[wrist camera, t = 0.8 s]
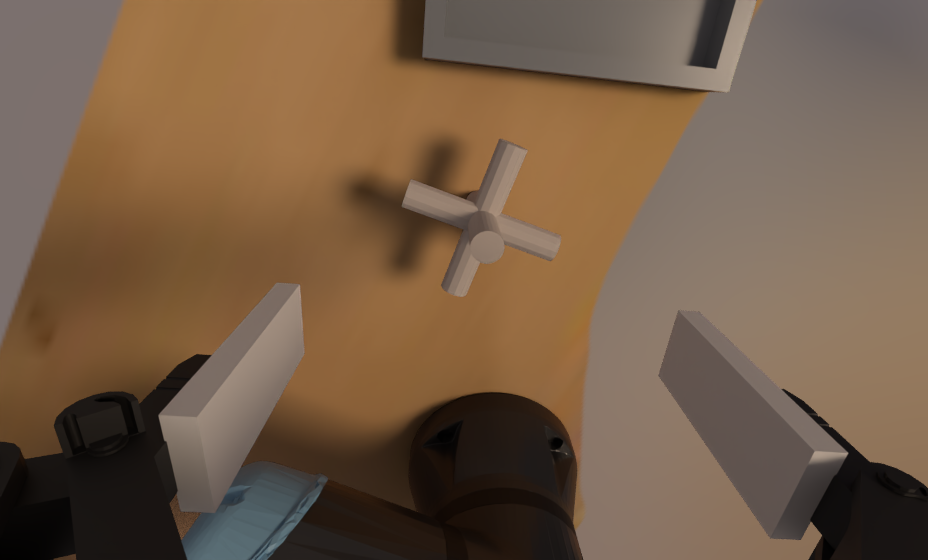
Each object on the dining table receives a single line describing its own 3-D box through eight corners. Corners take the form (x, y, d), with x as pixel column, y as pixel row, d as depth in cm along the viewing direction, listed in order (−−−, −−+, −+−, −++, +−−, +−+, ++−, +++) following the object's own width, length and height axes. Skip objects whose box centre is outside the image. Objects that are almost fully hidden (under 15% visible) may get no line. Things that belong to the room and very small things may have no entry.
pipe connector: (436, 108, 31) (429, 117, 21) (569, 162, 32) (616, 192, 23) (391, 241, 34) (368, 297, 25) (513, 283, 36) (533, 352, 26)
